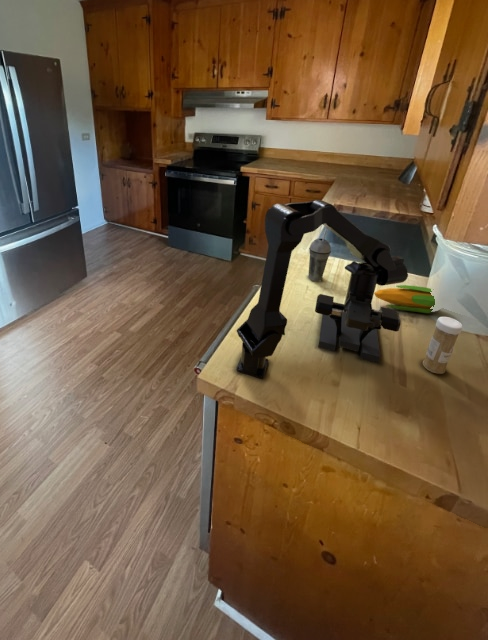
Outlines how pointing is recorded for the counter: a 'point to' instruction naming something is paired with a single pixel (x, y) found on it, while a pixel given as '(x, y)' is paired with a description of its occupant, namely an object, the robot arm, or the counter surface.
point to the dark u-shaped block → (329, 329)
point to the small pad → (349, 339)
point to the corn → (408, 298)
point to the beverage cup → (318, 258)
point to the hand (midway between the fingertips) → (349, 338)
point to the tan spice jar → (442, 344)
